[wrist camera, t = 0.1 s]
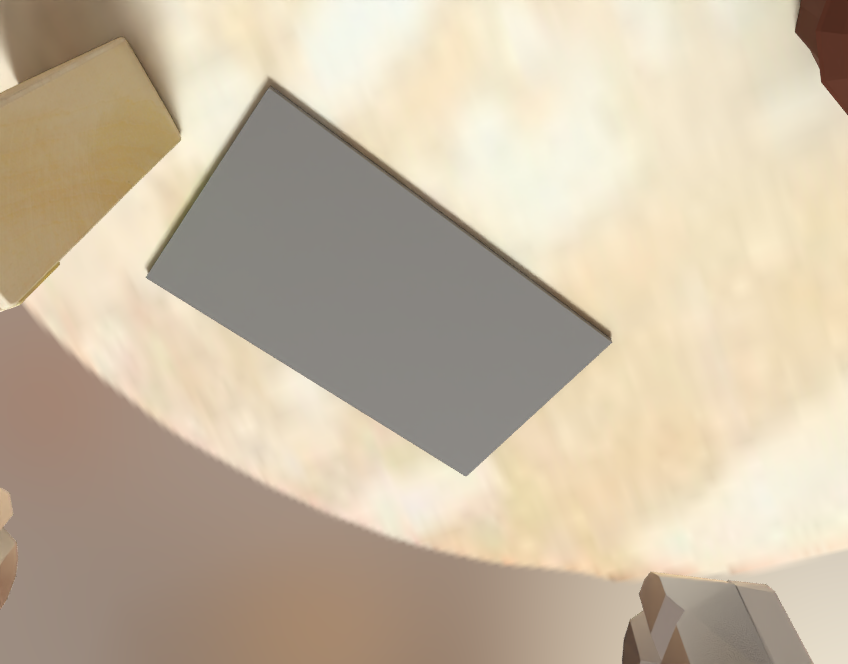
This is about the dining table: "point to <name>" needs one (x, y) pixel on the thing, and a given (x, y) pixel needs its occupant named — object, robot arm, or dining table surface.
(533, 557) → the dining table surface
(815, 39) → the muffin
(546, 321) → the mat
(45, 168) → the wooden rectangular block
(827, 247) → the dining table surface
